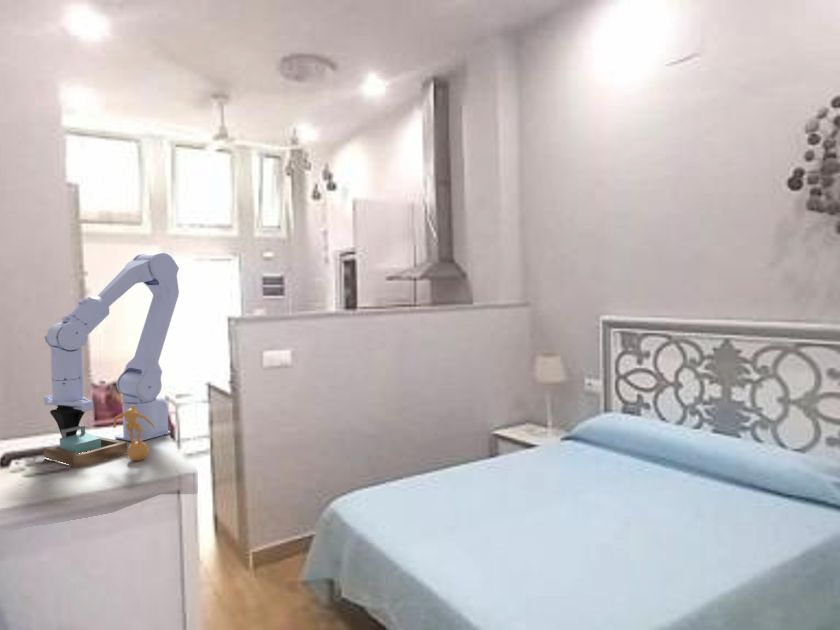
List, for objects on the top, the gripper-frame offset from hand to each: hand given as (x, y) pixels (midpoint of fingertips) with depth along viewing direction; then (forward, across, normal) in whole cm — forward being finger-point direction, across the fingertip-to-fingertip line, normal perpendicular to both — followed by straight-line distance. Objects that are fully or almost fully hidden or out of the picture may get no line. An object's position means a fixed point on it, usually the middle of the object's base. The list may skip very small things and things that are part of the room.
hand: (69, 440), depth 125 cm
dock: (+3, +5, 0) cm, 6 cm away
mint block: (+2, +5, 0) cm, 5 cm away
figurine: (+3, +18, +3) cm, 19 cm away
